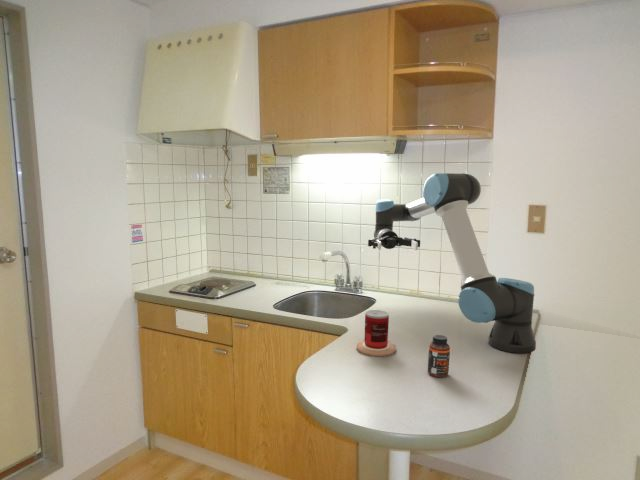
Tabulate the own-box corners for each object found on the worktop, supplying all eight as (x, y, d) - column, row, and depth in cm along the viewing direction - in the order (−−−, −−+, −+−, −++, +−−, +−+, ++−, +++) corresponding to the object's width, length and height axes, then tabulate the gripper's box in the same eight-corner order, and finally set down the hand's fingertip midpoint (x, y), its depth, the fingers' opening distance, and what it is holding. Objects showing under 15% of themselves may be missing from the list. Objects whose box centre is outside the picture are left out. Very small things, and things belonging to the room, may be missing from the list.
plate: (403, 351, 154) (403, 347, 154) (372, 359, 147) (373, 355, 147) (378, 340, 165) (378, 336, 164) (348, 346, 158) (348, 342, 158)
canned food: (373, 339, 161) (374, 308, 160) (392, 345, 156) (393, 313, 154) (359, 344, 156) (360, 312, 154) (378, 351, 150) (379, 318, 149)
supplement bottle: (436, 379, 132) (438, 341, 131) (423, 371, 138) (425, 334, 136) (452, 376, 135) (454, 338, 134) (439, 368, 140) (441, 332, 139)
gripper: (417, 248, 194) (431, 256, 173) (357, 247, 193) (364, 255, 172) (417, 230, 193) (432, 236, 172) (358, 229, 192) (365, 235, 171)
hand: (398, 246), depth 172 cm, fingers open, 13 cm apart
